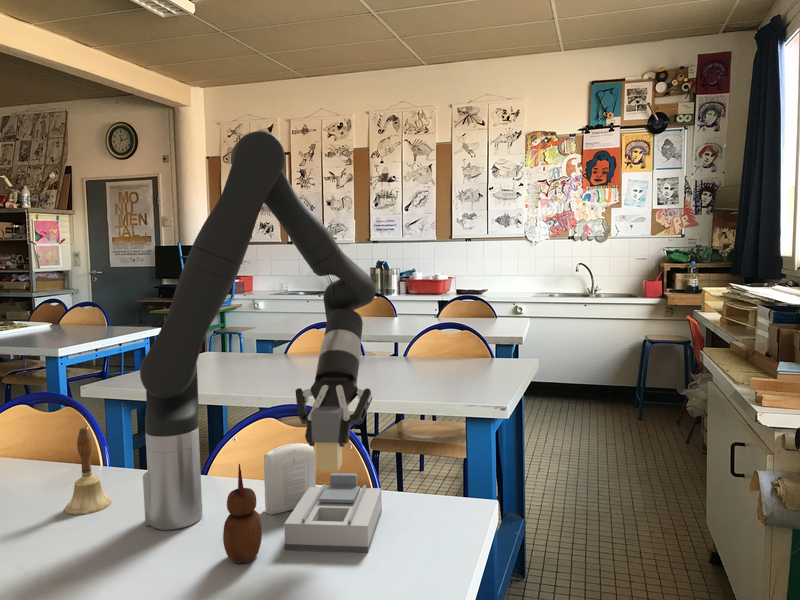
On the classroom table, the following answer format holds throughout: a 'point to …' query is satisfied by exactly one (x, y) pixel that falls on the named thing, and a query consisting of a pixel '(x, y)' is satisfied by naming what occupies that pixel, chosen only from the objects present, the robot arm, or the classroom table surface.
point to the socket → (333, 522)
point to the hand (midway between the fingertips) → (326, 444)
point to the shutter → (341, 489)
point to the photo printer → (288, 476)
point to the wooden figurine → (242, 525)
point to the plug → (327, 437)
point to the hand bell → (86, 482)
